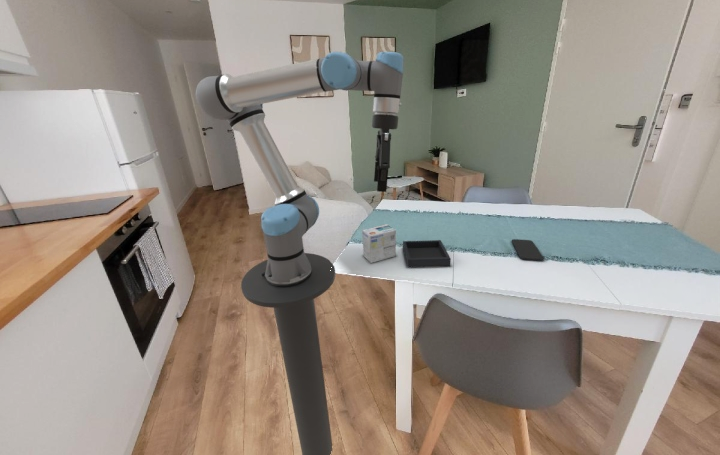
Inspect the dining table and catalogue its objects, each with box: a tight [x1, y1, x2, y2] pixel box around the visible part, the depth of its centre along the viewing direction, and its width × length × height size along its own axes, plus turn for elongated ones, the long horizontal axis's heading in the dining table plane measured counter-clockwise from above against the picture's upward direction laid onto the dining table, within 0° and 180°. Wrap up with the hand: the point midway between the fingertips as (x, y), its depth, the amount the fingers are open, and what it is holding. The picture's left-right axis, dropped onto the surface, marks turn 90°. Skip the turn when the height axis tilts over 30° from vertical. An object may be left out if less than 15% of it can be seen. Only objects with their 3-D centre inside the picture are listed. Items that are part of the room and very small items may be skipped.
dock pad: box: [402, 239, 452, 268], centre depth 105 cm, size 14×14×3 cm
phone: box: [511, 238, 545, 262], centre depth 106 cm, size 7×1×15 cm
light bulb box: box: [361, 223, 397, 264], centre depth 105 cm, size 11×7×11 cm, turn 115°
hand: (379, 186), depth 92 cm, fingers open, 13 cm apart
